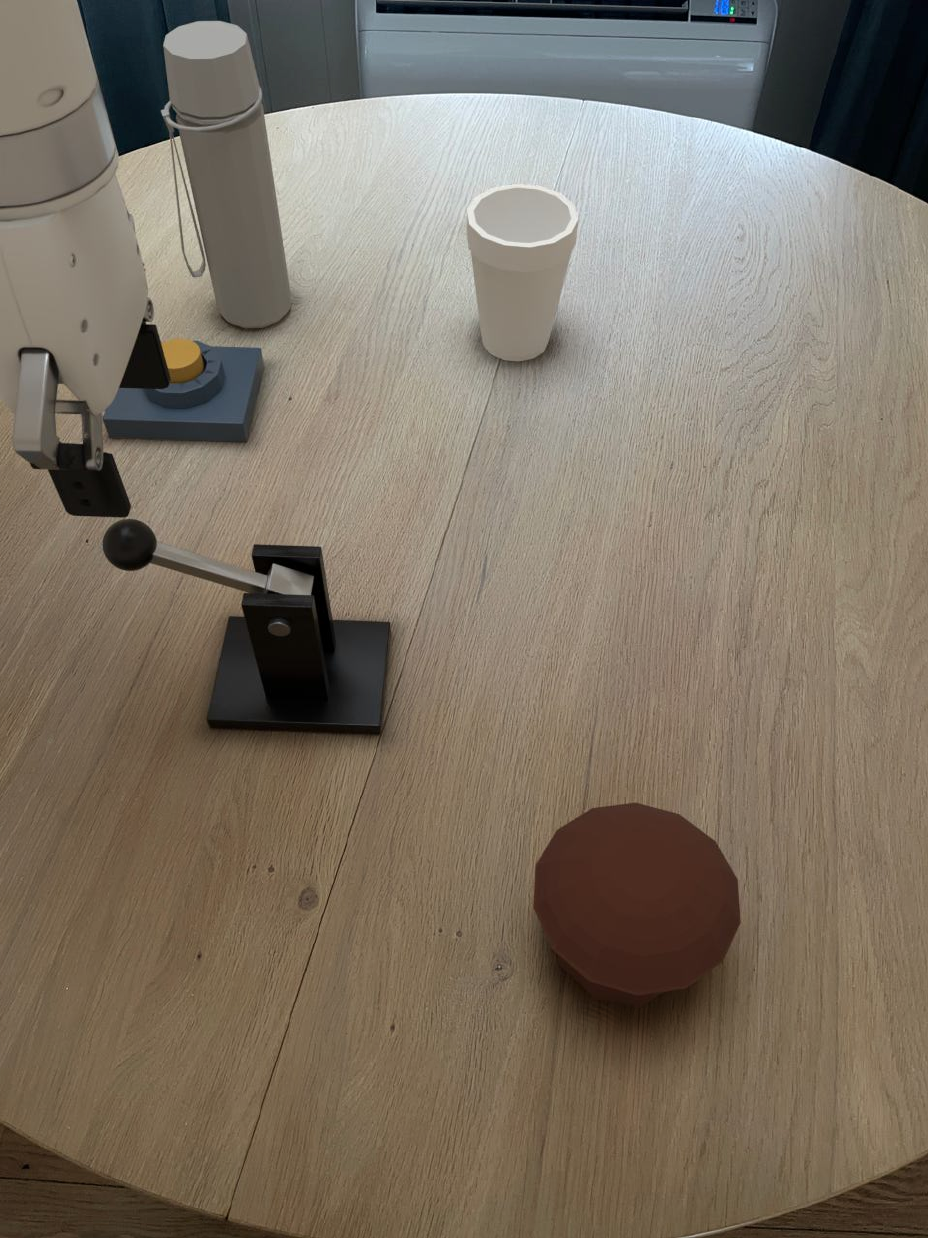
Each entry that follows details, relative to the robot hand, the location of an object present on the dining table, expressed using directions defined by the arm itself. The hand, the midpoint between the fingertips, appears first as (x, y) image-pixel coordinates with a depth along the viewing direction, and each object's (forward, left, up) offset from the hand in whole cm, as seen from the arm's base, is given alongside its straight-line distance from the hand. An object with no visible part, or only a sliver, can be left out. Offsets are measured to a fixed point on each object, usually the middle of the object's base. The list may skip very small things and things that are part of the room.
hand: (122, 445), depth 56 cm
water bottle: (-4, +43, -24) cm, 49 cm away
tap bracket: (+7, +1, -24) cm, 25 cm away
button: (-7, +30, -20) cm, 37 cm away
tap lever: (+2, +1, -13) cm, 13 cm away
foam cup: (+22, +40, -24) cm, 51 cm away
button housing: (-7, +30, -24) cm, 39 cm away
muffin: (+29, -17, -24) cm, 41 cm away
